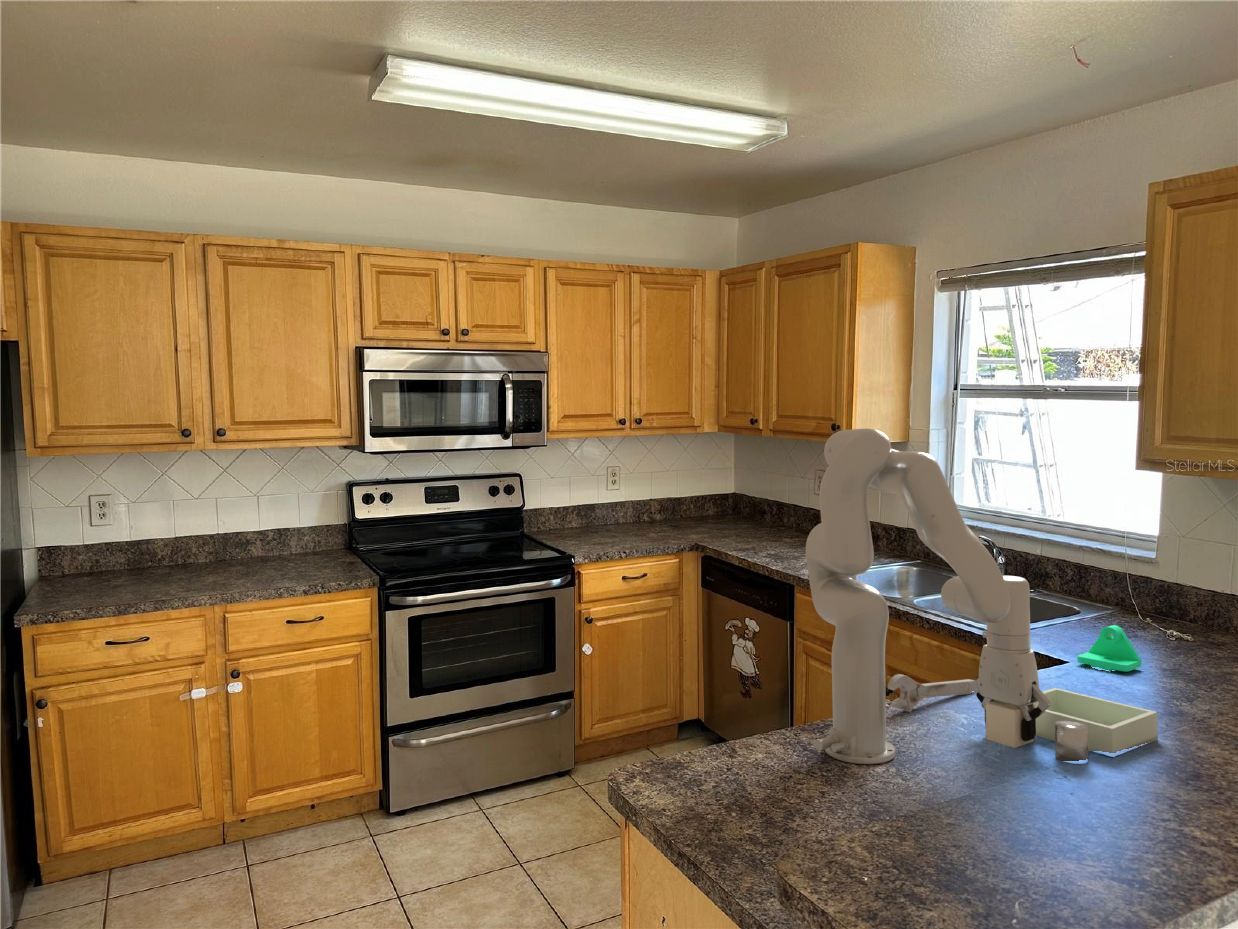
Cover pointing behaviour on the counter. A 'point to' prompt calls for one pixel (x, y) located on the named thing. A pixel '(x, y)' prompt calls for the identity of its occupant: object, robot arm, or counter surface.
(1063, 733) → the tea tin
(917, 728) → the counter surface
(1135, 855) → the counter surface
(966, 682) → the wrench
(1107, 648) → the camera mount
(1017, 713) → the flour box
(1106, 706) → the crate
